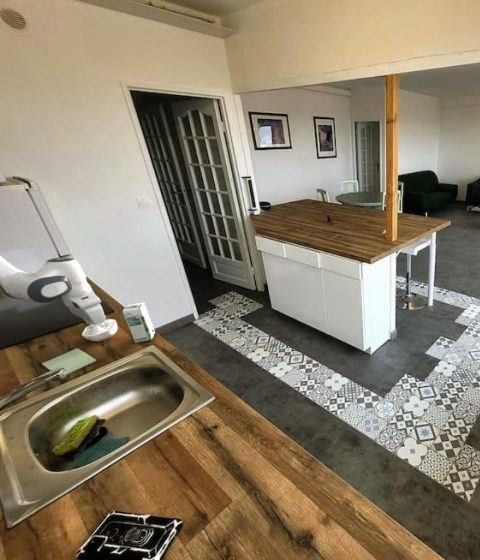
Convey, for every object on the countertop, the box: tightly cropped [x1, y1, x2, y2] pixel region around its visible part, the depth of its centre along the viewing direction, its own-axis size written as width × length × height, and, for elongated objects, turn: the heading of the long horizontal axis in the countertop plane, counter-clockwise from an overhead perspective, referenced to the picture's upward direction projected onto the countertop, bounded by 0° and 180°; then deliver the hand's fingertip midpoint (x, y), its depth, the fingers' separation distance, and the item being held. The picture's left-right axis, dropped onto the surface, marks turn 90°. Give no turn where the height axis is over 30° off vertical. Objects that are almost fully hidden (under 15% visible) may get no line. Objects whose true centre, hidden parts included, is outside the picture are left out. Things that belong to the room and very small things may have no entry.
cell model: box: [81, 319, 118, 342], centre depth 122 cm, size 10×12×7 cm
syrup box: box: [122, 301, 156, 344], centre depth 121 cm, size 6×6×14 cm
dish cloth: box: [41, 347, 97, 379], centre depth 110 cm, size 10×14×1 cm
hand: (93, 326), depth 125 cm, fingers closed
